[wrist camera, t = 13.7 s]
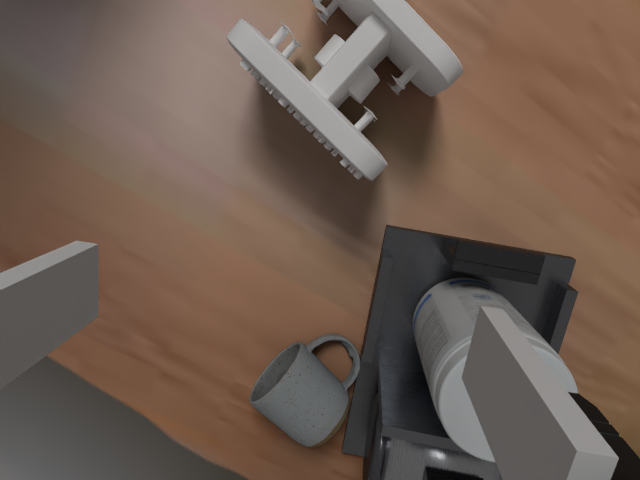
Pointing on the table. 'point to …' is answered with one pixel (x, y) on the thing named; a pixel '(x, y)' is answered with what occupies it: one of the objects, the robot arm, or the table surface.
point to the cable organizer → (349, 72)
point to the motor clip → (404, 360)
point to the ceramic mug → (305, 392)
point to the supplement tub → (466, 353)
